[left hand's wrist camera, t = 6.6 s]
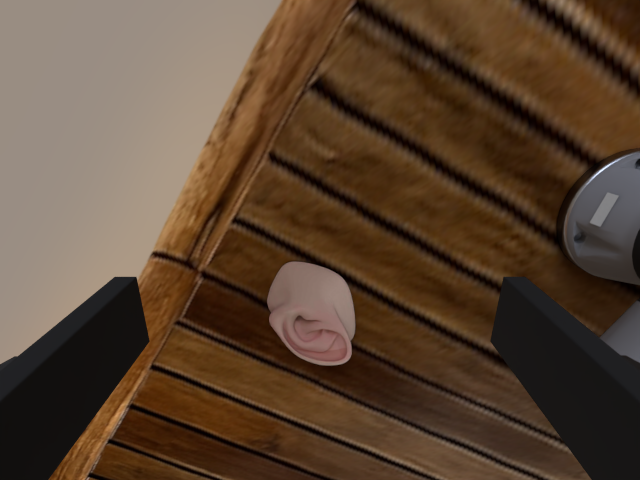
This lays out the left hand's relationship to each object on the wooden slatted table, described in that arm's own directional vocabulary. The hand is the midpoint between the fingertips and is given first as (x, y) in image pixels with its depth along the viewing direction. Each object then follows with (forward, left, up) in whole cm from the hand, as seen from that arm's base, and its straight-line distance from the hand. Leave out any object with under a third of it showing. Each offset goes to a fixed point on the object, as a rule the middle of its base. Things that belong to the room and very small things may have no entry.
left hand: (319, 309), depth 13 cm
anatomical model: (-7, +16, -29) cm, 34 cm away
